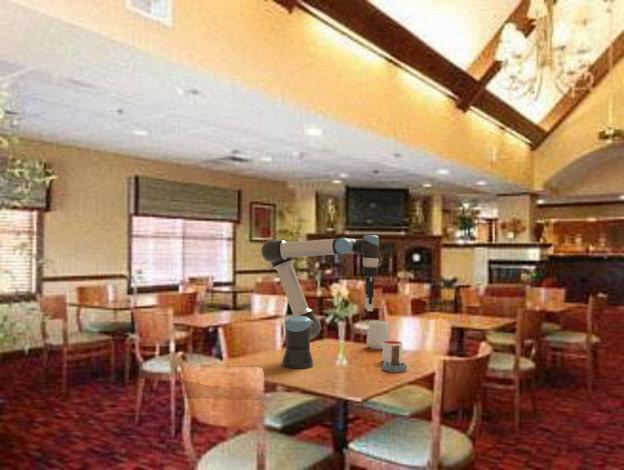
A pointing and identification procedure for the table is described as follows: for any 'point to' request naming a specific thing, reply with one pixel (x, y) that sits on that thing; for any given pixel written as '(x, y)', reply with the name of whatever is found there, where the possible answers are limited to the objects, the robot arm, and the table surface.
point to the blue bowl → (394, 367)
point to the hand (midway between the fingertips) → (368, 309)
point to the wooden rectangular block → (395, 355)
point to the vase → (378, 334)
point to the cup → (390, 350)
